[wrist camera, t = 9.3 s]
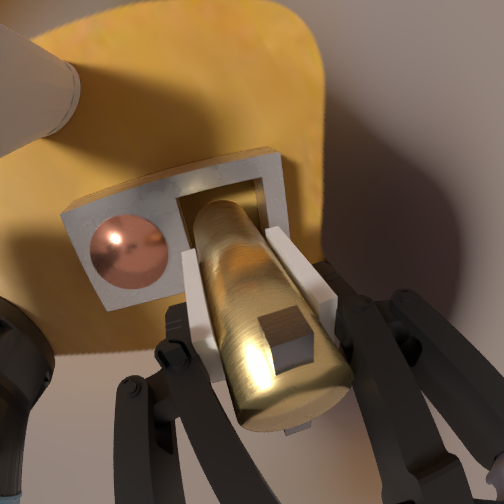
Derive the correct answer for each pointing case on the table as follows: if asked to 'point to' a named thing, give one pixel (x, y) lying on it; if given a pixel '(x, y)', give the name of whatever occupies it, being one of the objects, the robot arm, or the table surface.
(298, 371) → the brass cylinder with tabs
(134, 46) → the table surface
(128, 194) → the plate with copper dome
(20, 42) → the cup
